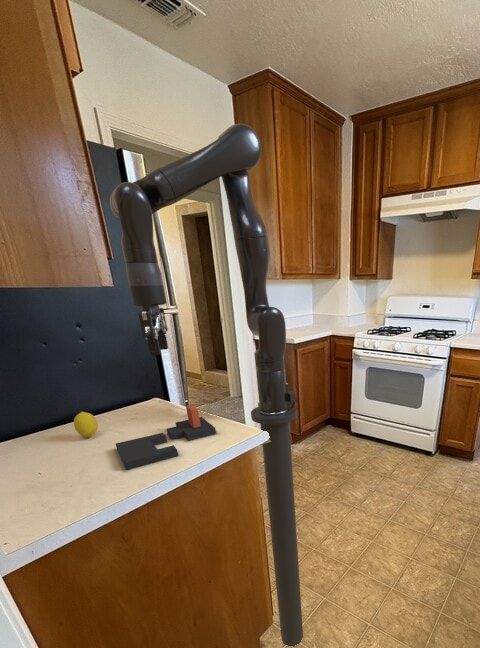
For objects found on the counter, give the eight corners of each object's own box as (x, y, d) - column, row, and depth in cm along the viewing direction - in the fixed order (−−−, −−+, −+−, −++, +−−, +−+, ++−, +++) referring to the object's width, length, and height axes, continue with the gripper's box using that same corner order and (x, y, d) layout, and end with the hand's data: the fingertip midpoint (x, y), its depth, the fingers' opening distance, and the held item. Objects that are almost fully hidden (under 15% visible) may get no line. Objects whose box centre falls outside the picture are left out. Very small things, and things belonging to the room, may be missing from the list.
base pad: (164, 438, 101) (163, 432, 100) (178, 456, 90) (176, 448, 89) (117, 450, 94) (115, 443, 93) (126, 470, 84) (124, 462, 83)
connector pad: (202, 422, 112) (198, 400, 109) (216, 434, 103) (212, 409, 100) (164, 431, 106) (159, 407, 103) (175, 444, 97) (170, 418, 94)
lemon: (74, 440, 101) (65, 414, 98) (91, 433, 106) (83, 407, 103) (88, 442, 99) (80, 415, 96) (105, 434, 104) (98, 409, 101)
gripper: (155, 283, 79) (169, 356, 85) (169, 283, 92) (180, 347, 98) (119, 284, 78) (136, 358, 84) (138, 284, 91) (152, 348, 97)
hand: (160, 352), depth 91 cm, fingers open, 8 cm apart
